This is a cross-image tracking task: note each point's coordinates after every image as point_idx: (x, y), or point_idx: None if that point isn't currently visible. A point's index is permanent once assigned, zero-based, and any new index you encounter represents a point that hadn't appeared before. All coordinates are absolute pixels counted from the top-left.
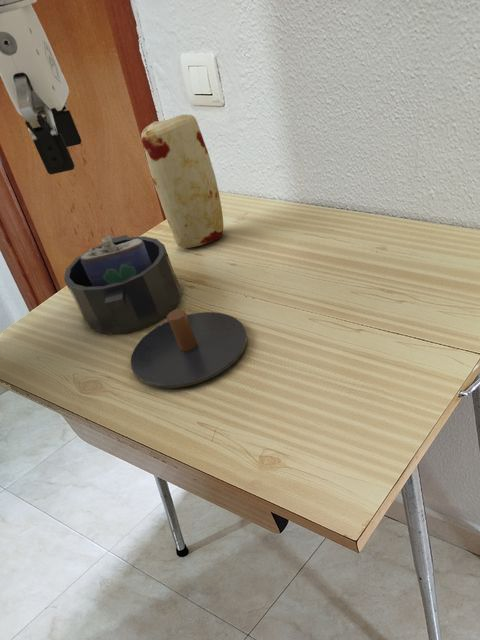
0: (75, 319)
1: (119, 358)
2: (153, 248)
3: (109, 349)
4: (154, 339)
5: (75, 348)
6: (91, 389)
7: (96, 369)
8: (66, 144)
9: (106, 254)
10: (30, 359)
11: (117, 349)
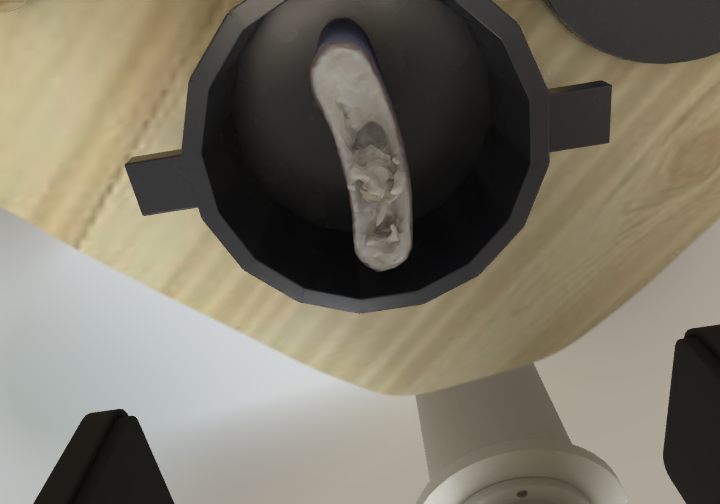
0: None
1: (612, 108)
2: (244, 34)
3: None
4: (614, 2)
5: None
6: (709, 155)
7: (632, 160)
8: (161, 494)
9: (406, 177)
10: (516, 326)
11: None
